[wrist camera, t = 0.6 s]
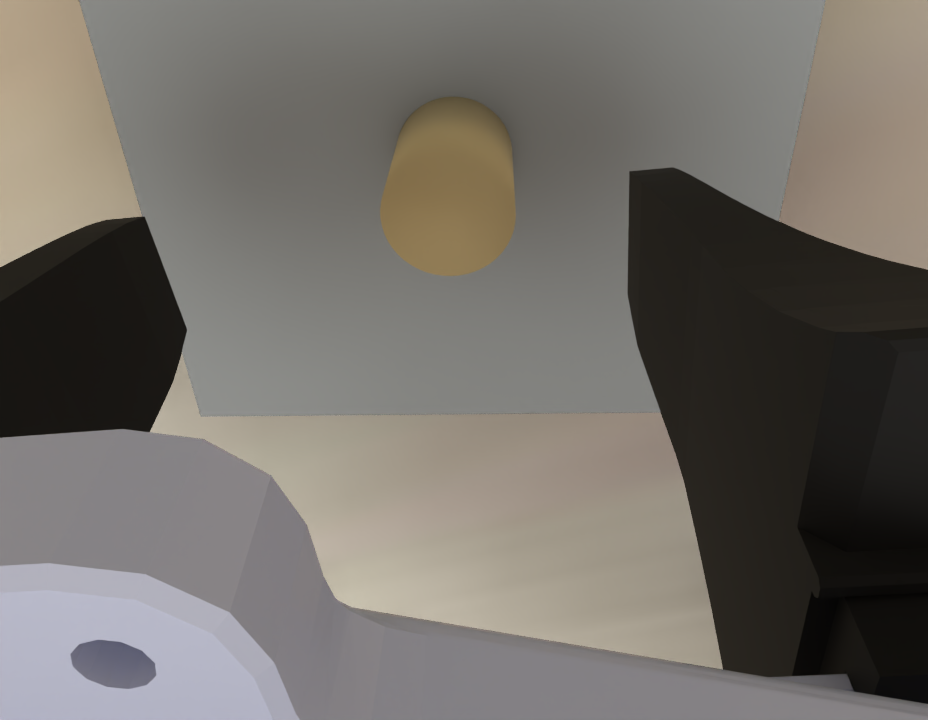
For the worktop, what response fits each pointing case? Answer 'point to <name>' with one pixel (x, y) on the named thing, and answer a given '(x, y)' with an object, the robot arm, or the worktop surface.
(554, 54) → the lid
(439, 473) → the worktop surface
